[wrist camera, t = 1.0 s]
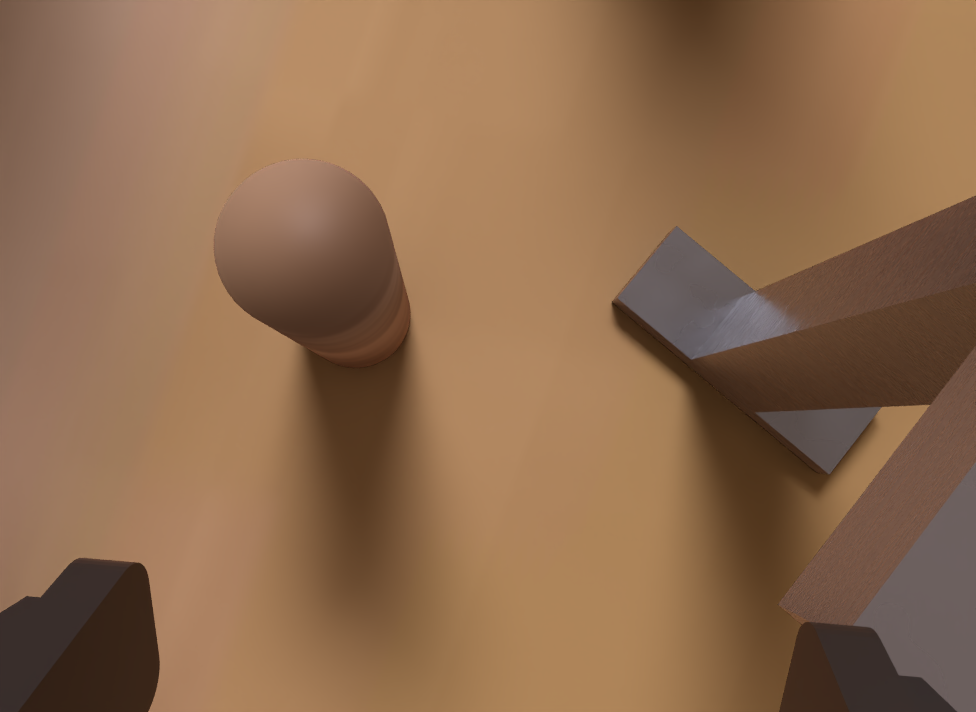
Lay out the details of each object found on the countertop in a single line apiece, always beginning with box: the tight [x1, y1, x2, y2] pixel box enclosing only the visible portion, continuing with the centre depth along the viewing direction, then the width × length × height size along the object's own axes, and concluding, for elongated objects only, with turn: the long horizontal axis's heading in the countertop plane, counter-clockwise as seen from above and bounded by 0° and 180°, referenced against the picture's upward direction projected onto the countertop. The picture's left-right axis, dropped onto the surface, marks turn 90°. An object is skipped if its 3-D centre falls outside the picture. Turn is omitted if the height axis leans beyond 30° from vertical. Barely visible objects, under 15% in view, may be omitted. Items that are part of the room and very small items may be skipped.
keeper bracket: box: [612, 196, 976, 712], centre depth 21 cm, size 10×10×21 cm
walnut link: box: [214, 159, 410, 368], centre depth 25 cm, size 4×4×12 cm
